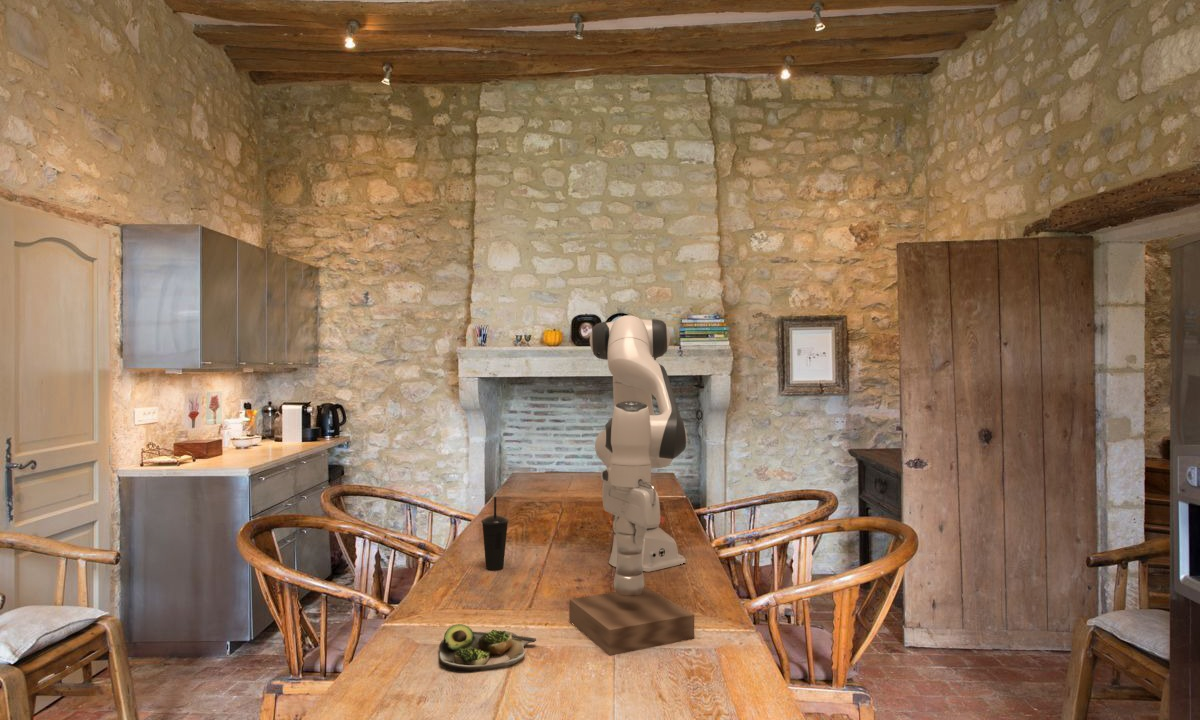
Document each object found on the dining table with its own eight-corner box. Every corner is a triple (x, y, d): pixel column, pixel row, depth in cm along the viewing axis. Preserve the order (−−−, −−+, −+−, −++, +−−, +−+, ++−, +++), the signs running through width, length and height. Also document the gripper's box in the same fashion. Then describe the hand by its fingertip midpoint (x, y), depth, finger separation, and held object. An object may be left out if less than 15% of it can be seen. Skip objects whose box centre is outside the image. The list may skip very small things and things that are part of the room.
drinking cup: (513, 566, 197) (513, 495, 197) (500, 573, 190) (501, 500, 190) (489, 563, 200) (489, 494, 200) (475, 570, 192) (476, 498, 193)
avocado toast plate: (531, 633, 149) (531, 611, 149) (542, 668, 132) (543, 644, 132) (439, 640, 145) (439, 618, 145) (438, 677, 127) (438, 652, 127)
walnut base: (646, 608, 164) (647, 587, 164) (694, 638, 146) (694, 614, 146) (569, 621, 155) (569, 599, 155) (609, 655, 137) (609, 630, 137)
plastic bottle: (613, 590, 153) (614, 499, 154) (643, 590, 153) (644, 500, 154) (613, 599, 147) (614, 505, 147) (645, 600, 147) (646, 506, 147)
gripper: (668, 483, 142) (667, 550, 142) (622, 469, 161) (621, 529, 161) (641, 485, 140) (640, 553, 140) (597, 471, 158) (597, 531, 158)
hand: (630, 540), depth 150 cm, fingers closed on plastic bottle, 6 cm apart
